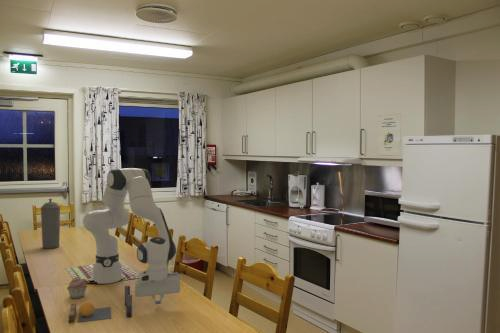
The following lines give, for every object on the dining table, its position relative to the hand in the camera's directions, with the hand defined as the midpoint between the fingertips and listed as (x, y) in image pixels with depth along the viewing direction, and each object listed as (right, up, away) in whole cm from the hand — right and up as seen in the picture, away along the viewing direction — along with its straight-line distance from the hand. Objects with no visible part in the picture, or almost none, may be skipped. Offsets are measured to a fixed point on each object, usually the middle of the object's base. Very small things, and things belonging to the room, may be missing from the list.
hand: (157, 303), depth 191 cm
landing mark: (-25, -2, -9) cm, 27 cm away
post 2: (-10, -2, -10) cm, 15 cm away
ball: (-28, +1, -11) cm, 30 cm away
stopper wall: (-34, -2, -11) cm, 36 cm away
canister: (-101, +4, +111) cm, 150 cm away
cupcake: (-42, -1, +13) cm, 44 cm away
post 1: (-14, -1, +2) cm, 15 cm away
